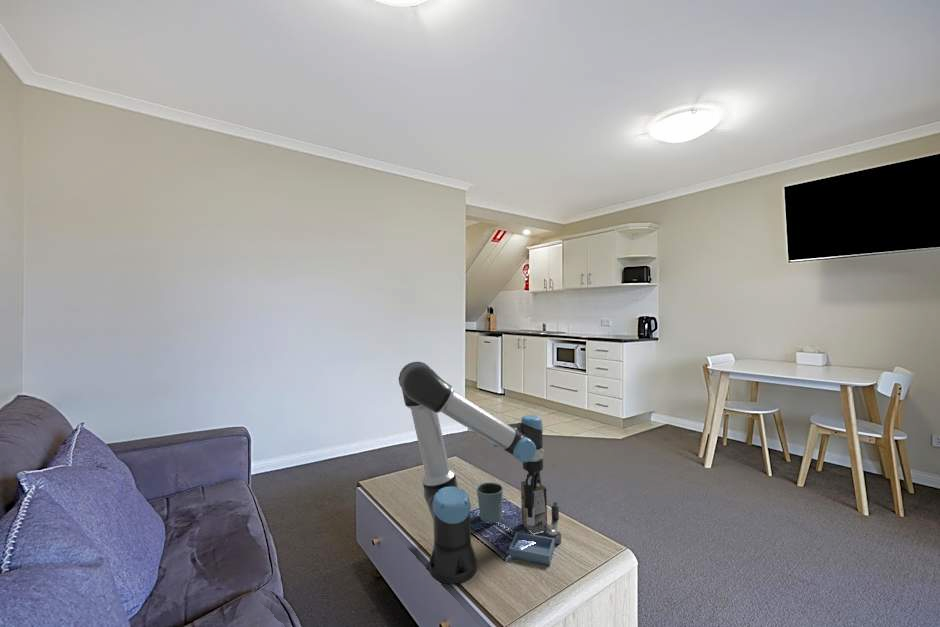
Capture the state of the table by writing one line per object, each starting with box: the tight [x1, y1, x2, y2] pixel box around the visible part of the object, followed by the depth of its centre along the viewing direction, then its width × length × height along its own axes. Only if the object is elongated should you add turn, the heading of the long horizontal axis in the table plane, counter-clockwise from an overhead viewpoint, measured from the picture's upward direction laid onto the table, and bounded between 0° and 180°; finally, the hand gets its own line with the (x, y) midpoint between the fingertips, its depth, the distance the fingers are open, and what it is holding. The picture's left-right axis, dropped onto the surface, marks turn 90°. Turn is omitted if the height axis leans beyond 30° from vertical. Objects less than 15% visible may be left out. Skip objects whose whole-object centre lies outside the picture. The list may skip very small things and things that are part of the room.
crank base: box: [542, 530, 562, 546], centre depth 141 cm, size 6×15×2 cm, turn 69°
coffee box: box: [520, 480, 548, 533], centre depth 148 cm, size 9×6×16 cm
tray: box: [508, 531, 556, 566], centre depth 133 cm, size 10×13×3 cm
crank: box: [546, 501, 560, 537], centre depth 143 cm, size 12×4×6 cm, turn 159°
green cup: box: [476, 482, 504, 524], centre depth 155 cm, size 10×10×12 cm
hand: (534, 516), depth 148 cm, fingers closed on coffee box, 11 cm apart
